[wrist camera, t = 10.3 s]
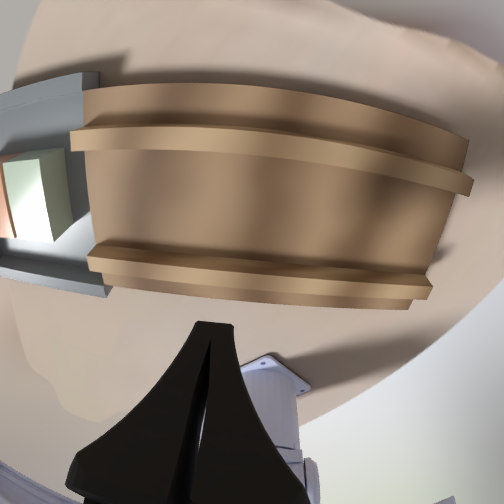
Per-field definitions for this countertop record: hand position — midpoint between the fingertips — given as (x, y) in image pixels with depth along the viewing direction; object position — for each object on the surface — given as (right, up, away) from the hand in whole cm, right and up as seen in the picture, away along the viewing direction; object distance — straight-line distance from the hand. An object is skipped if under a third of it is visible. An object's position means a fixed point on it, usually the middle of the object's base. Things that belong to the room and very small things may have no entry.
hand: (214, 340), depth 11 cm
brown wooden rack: (+3, +7, +8) cm, 11 cm away
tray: (-17, +9, +7) cm, 20 cm away
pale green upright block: (-14, +8, +7) cm, 18 cm away
